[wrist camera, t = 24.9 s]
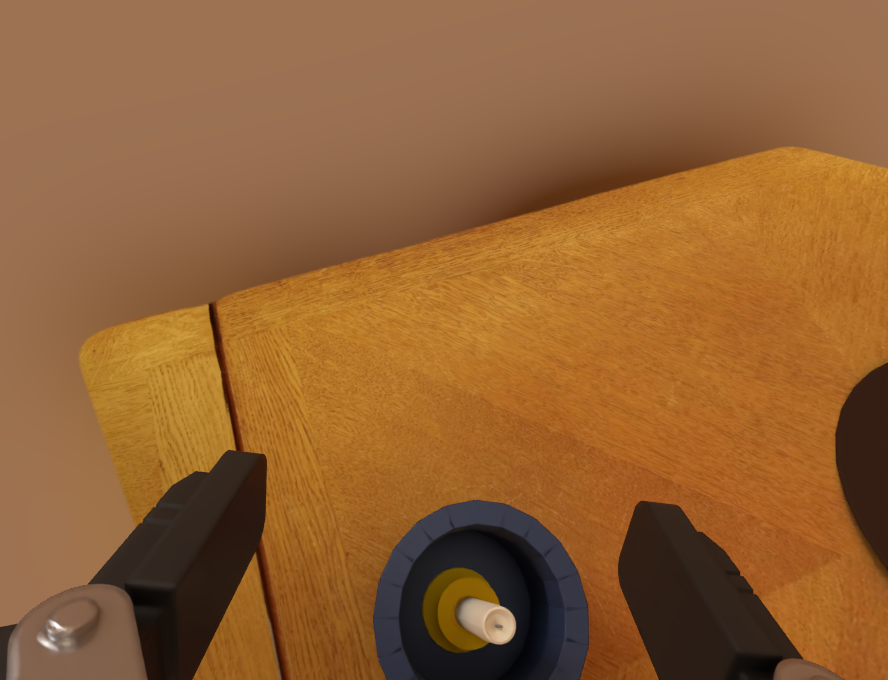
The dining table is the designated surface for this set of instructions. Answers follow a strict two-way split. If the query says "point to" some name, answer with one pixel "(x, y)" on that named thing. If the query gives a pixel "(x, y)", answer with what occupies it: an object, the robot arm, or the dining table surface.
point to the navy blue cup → (509, 575)
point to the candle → (465, 612)
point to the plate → (866, 457)
